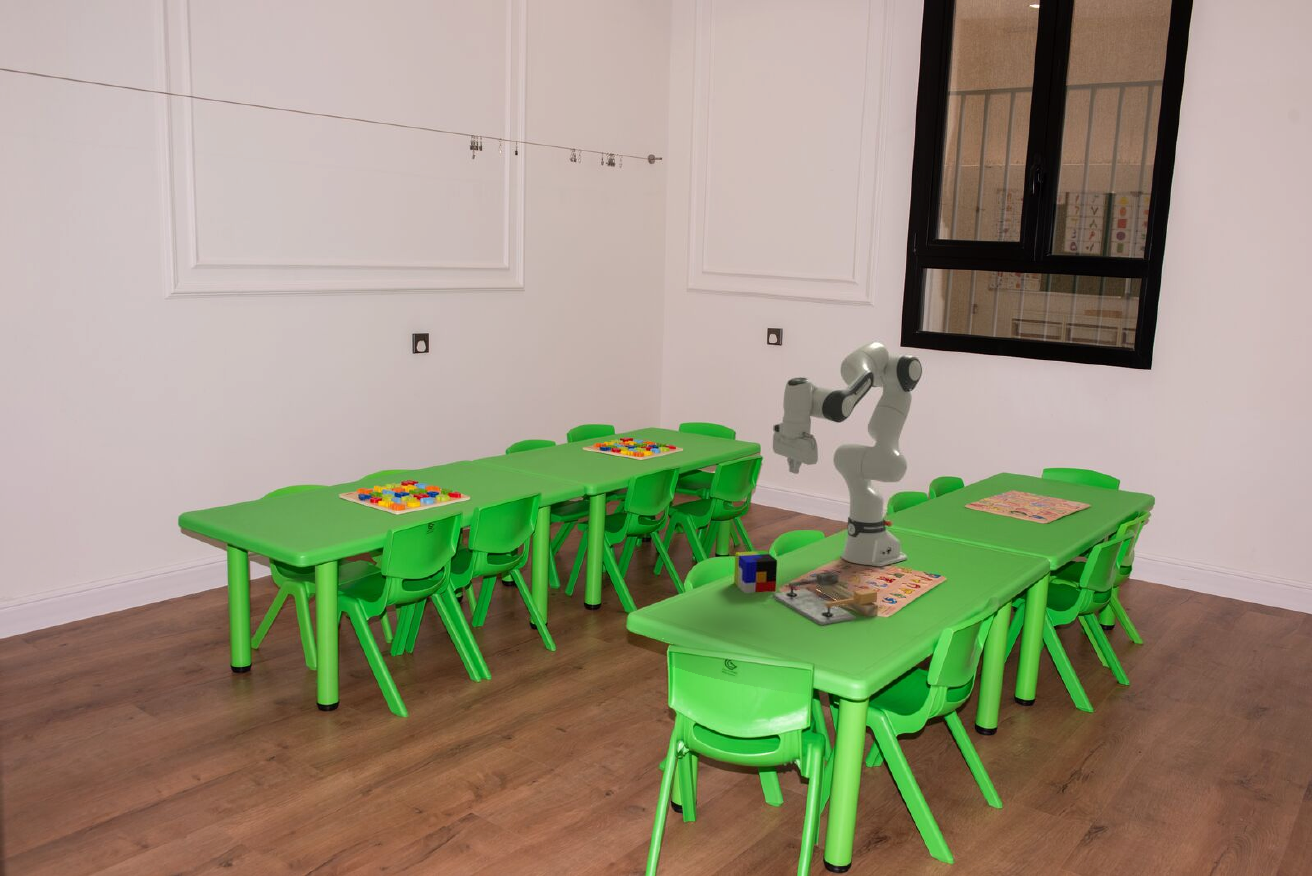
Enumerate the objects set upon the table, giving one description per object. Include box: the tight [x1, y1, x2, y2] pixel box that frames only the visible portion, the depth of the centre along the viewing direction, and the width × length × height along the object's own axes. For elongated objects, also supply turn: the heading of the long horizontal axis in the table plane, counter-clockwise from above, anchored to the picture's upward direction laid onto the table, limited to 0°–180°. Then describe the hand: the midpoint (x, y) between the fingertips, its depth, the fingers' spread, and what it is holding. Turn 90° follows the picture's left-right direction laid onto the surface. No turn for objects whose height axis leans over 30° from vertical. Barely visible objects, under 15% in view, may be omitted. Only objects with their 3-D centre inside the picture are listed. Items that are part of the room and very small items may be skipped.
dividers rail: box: [788, 570, 879, 618], centre depth 310 cm, size 17×25×6 cm
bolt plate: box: [772, 588, 856, 626], centre depth 308 cm, size 12×25×1 cm, turn 27°
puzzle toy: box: [733, 550, 778, 594], centre depth 324 cm, size 10×10×10 cm
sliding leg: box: [825, 588, 878, 614], centre depth 302 cm, size 17×3×5 cm, turn 117°
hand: (793, 472), depth 330 cm, fingers closed
